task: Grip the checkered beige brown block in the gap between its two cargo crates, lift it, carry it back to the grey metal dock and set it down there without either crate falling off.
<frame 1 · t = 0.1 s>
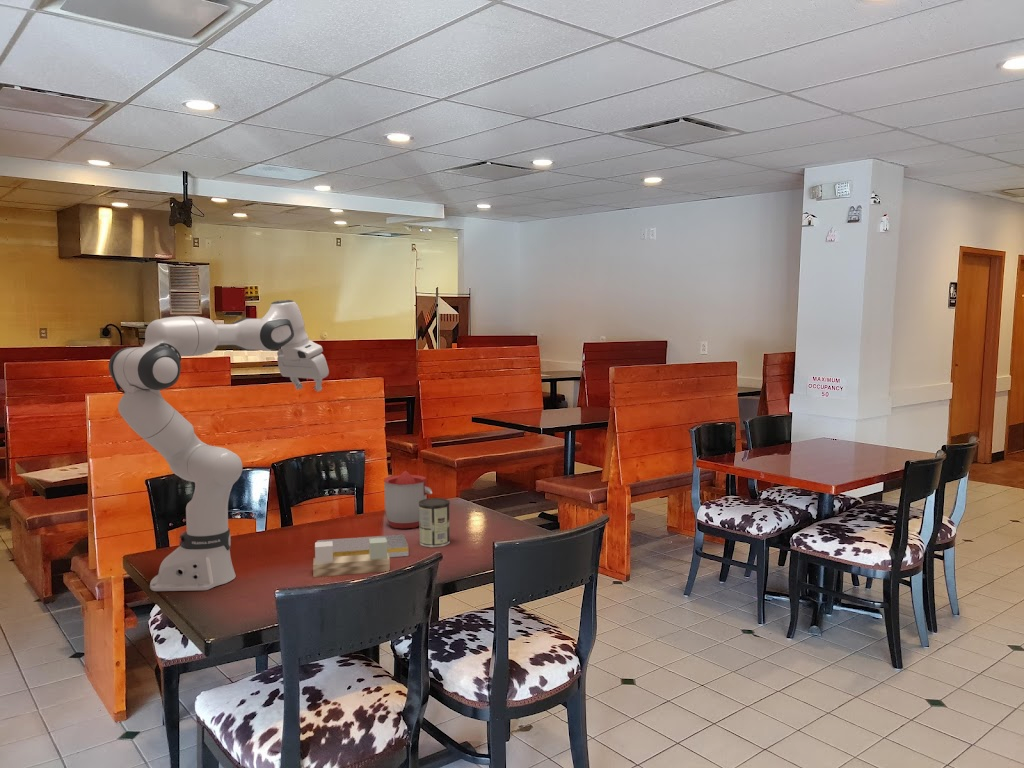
hand: (309, 389, 245), 52 cm above the table, fingers open, 8 cm apart
citrus juicer: (408, 525, 277), on the table
coffee can: (434, 543, 255), on the table
checkered beige brown block: (351, 571, 227), on the table, touching pale green cube, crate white
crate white: (324, 560, 225), point 4 cm above the table, touching checkered beige brown block
dock: (362, 552, 245), on the table
pale green cube: (378, 556, 229), point 4 cm above the table, touching checkered beige brown block
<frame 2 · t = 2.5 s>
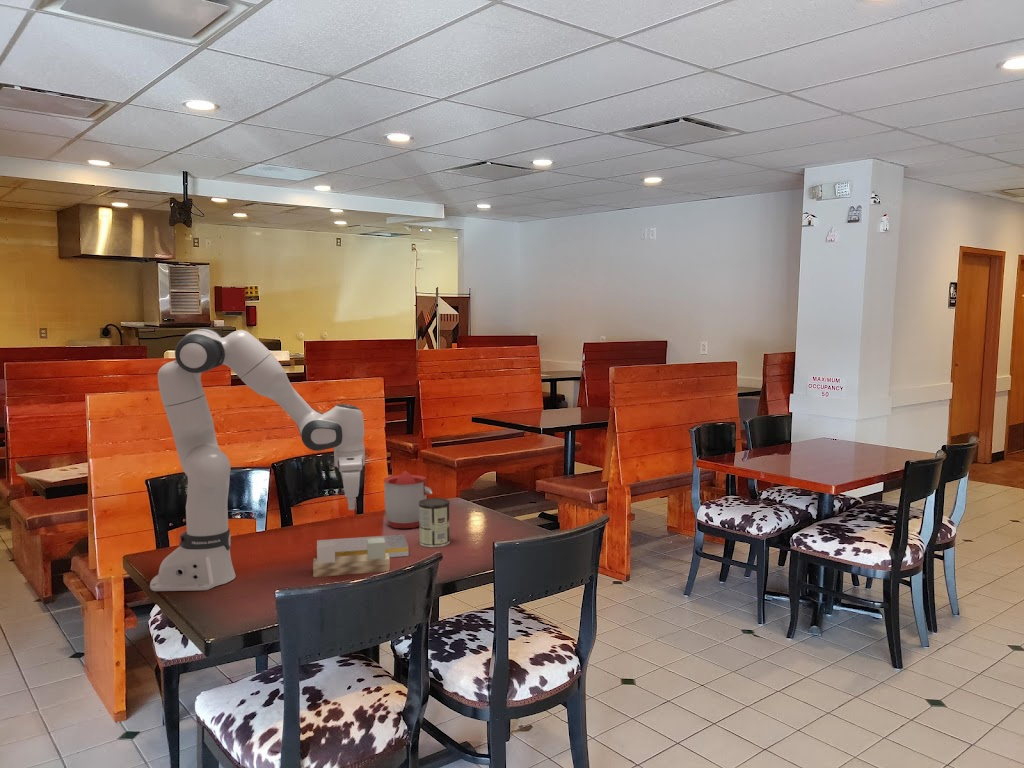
hand: (350, 505, 226), 20 cm above the table, fingers open, 8 cm apart
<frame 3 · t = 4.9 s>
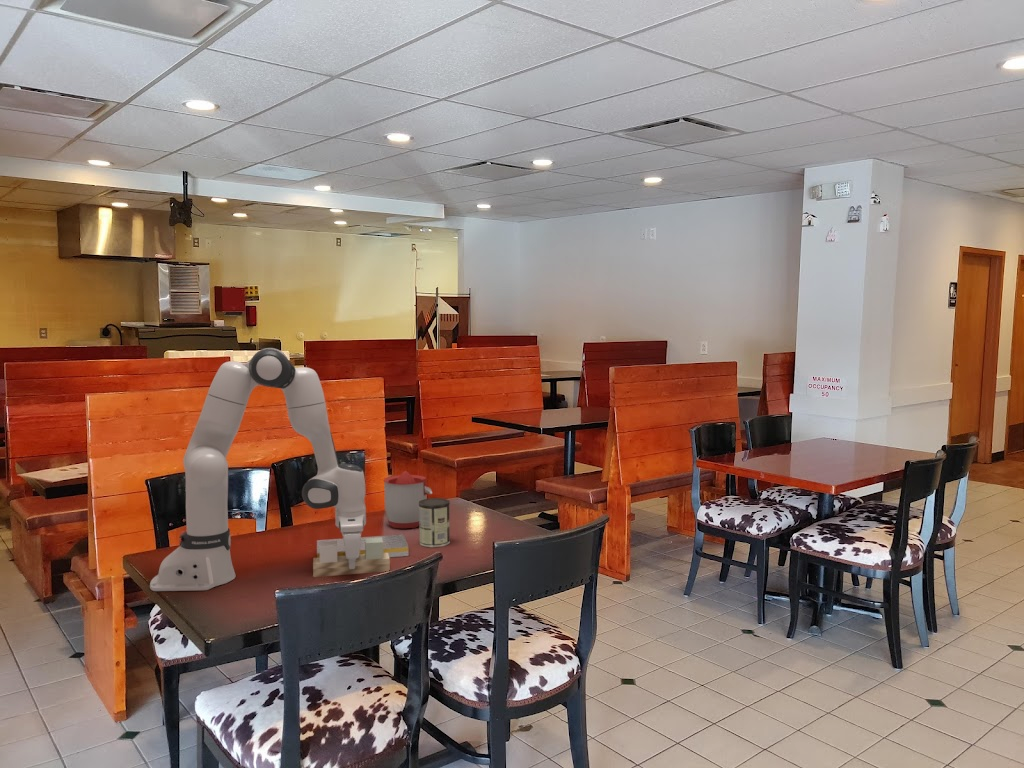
hand: (351, 564, 227), 2 cm above the table, fingers closed on checkered beige brown block, 6 cm apart
checkered beige brown block: (351, 571, 227), on the table, touching pale green cube, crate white, gripper
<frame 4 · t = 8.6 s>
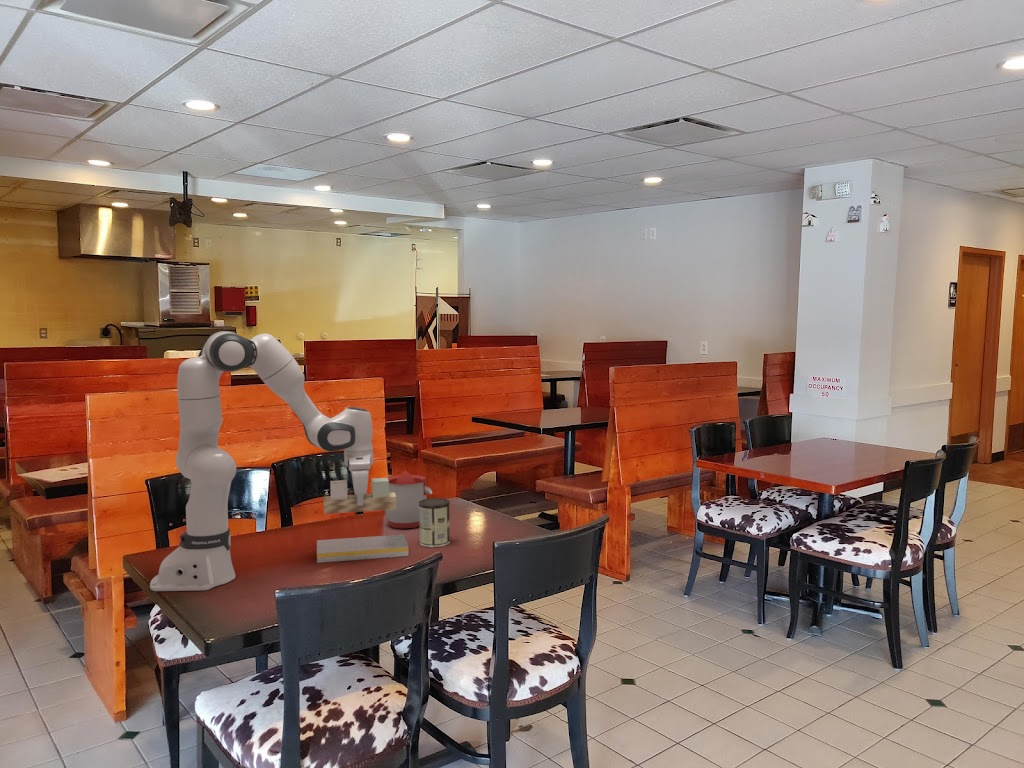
hand: (359, 502, 239), 17 cm above the table, fingers closed on checkered beige brown block, 6 cm apart
checkered beige brown block: (360, 509, 239), point 15 cm above the table, touching pale green cube, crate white, gripper
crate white: (339, 497, 238), point 19 cm above the table, touching checkered beige brown block
pale green cube: (380, 495, 241), point 19 cm above the table, touching checkered beige brown block
everything else where it was.
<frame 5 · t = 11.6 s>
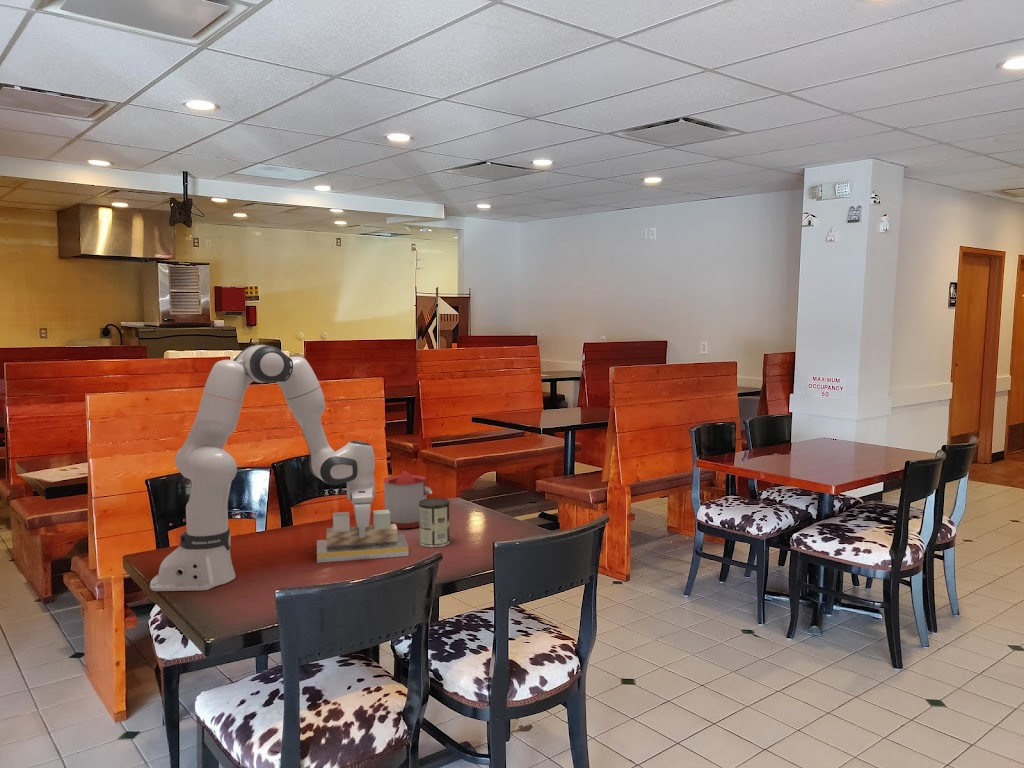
hand: (361, 534, 244), 6 cm above the table, fingers closed on checkered beige brown block, 6 cm apart
checkered beige brown block: (361, 540, 244), point 4 cm above the table, touching pale green cube, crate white, gripper
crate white: (341, 529, 242), point 8 cm above the table, touching checkered beige brown block
pale green cube: (381, 527, 245), point 8 cm above the table, touching checkered beige brown block
everything else where it was.
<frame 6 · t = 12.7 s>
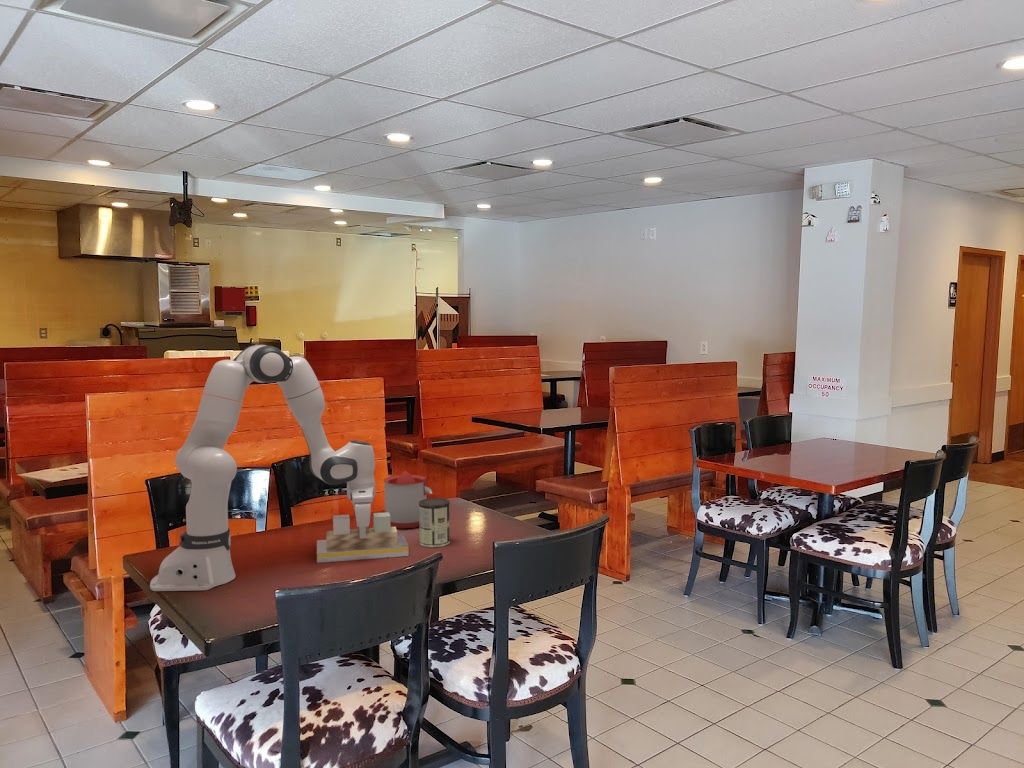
hand: (361, 533, 244), 6 cm above the table, fingers open, 8 cm apart
checkered beige brown block: (361, 543, 244), point 3 cm above the table, touching pale green cube, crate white, dock
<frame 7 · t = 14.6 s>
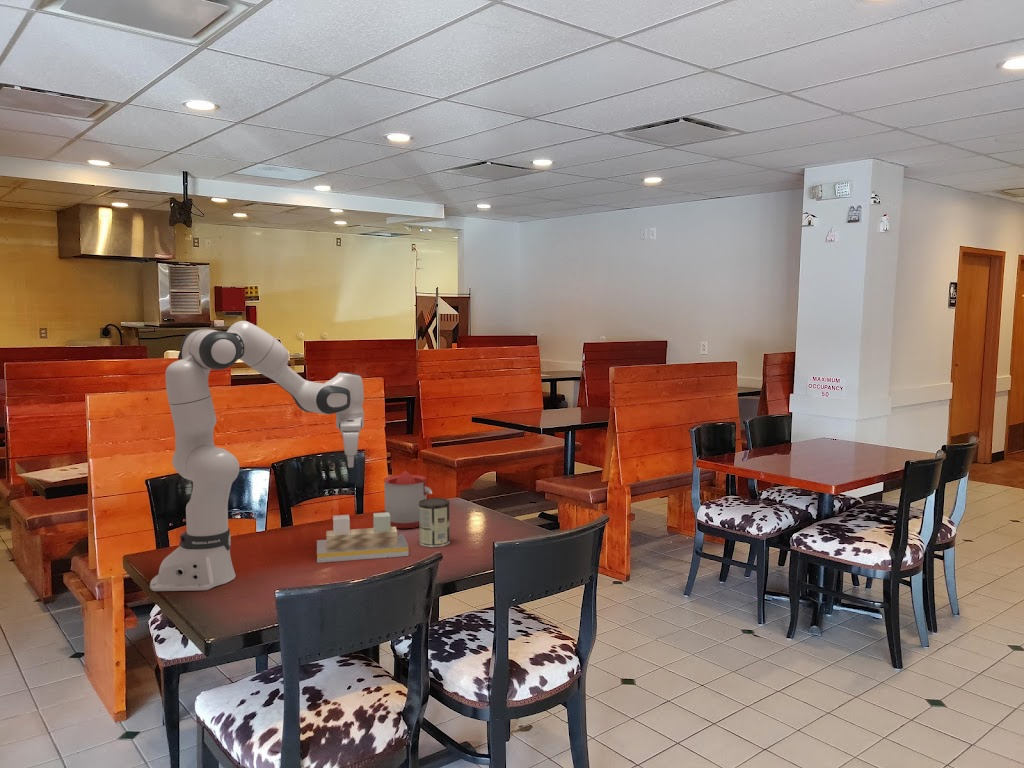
hand: (350, 464, 248), 28 cm above the table, fingers open, 8 cm apart
nothing on the table moved.
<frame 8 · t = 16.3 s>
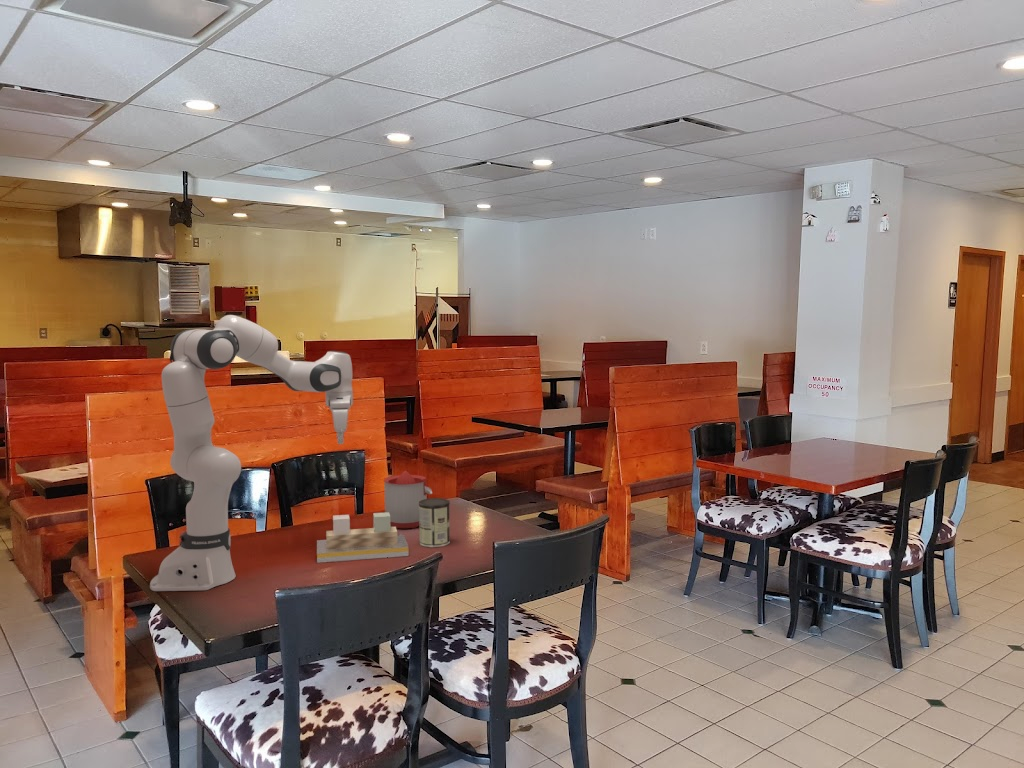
hand: (340, 441, 253), 34 cm above the table, fingers open, 8 cm apart
nothing on the table moved.
at the end: checkered beige brown block inside the target area on the dock (0.1 cm from its centre), point 3.0 cm above the dock's base; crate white inside the target area on the checkered beige brown block (6.3 cm from its centre), point 4.0 cm above the checkered beige brown block's base; pale green cube inside the target area on the checkered beige brown block (6.4 cm from its centre), point 4.0 cm above the checkered beige brown block's base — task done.
